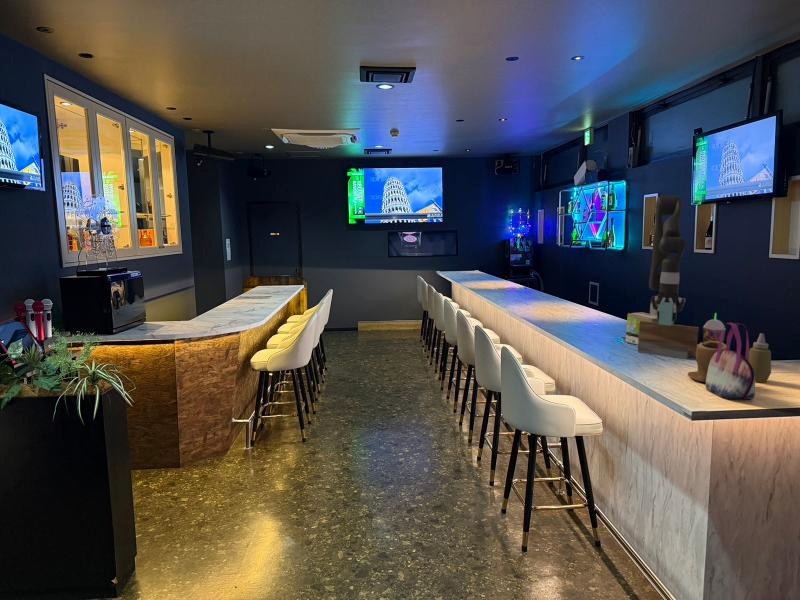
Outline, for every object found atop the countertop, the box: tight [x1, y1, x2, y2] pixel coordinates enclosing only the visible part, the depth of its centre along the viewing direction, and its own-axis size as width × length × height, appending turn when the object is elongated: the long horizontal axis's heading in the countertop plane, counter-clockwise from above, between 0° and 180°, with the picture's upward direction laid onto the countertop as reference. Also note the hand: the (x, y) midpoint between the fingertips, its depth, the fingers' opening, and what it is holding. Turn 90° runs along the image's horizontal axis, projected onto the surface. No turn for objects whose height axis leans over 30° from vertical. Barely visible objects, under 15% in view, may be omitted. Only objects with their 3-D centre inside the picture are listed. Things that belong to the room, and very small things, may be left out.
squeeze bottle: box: [749, 333, 772, 383], centre depth 195 cm, size 8×8×18 cm
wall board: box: [637, 321, 699, 360], centre depth 237 cm, size 10×24×13 cm, turn 51°
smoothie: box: [702, 312, 726, 343], centre depth 229 cm, size 8×8×20 cm
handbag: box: [705, 322, 756, 400], centre depth 179 cm, size 21×10×25 cm, turn 2°
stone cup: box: [687, 341, 726, 383], centre depth 194 cm, size 15×12×15 cm
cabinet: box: [659, 302, 676, 326], centre depth 234 cm, size 6×5×12 cm
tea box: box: [625, 311, 659, 346], centre depth 255 cm, size 15×10×15 cm, turn 25°
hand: (666, 319), depth 235 cm, fingers closed on cabinet, 5 cm apart
